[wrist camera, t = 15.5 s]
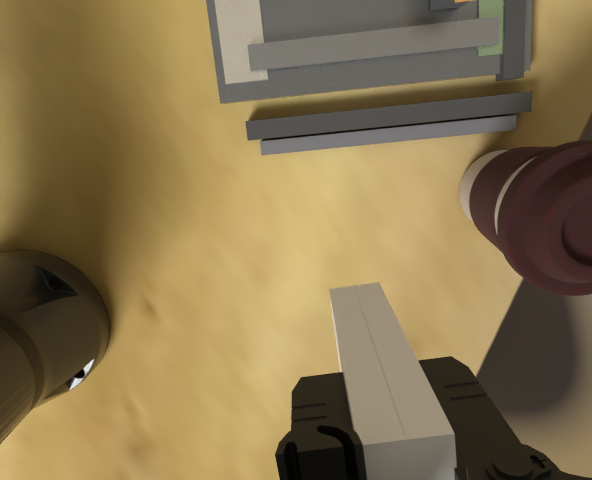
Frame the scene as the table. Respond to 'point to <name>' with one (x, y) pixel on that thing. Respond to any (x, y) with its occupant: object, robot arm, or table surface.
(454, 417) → the robot arm
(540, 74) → the table surface
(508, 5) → the grey panel edge rail
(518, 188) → the coffee cup
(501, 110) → the long dark grey rail
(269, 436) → the table surface
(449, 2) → the lever
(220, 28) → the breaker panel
